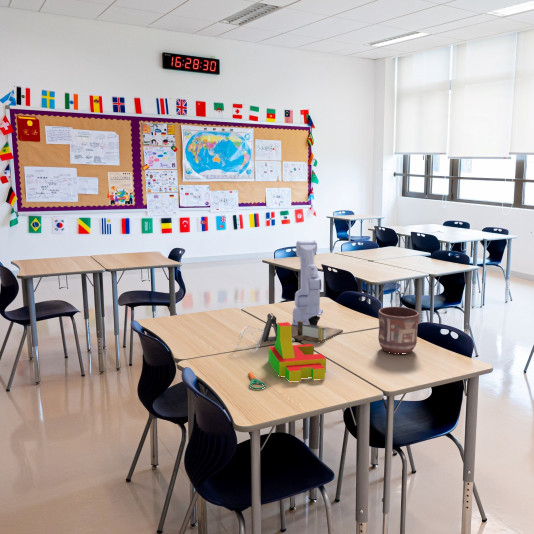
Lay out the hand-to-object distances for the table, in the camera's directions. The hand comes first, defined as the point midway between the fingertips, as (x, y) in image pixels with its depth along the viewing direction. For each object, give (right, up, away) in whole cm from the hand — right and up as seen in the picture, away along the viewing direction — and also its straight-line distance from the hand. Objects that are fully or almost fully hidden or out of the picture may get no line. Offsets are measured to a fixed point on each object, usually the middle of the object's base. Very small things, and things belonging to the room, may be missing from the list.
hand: (313, 331), depth 270 cm
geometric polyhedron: (-29, -6, -15) cm, 34 cm away
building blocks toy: (-9, -11, -41) cm, 44 cm away
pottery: (+36, -7, -17) cm, 40 cm away
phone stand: (-20, -4, -1) cm, 20 cm away
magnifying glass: (-27, -14, -54) cm, 62 cm away
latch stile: (+3, -3, -6) cm, 7 cm away
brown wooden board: (+3, -2, +6) cm, 7 cm away
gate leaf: (0, -2, -2) cm, 3 cm away
